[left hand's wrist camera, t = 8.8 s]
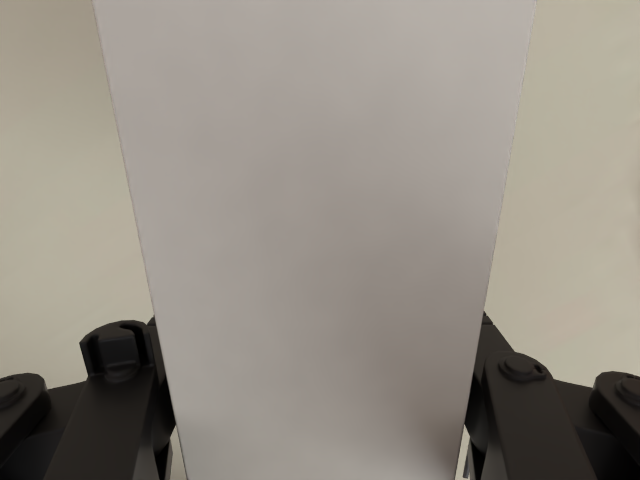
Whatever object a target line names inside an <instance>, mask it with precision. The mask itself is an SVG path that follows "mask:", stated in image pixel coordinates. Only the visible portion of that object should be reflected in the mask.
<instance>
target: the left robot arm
mask: <svg viewBox="0 0 640 480" xmlns="http://www.w3.org/2000/svg"><path fill="white" fill-rule="evenodd" d="M79 344H80V348H81V351H82V355H83V359H84V362H85V366H86V370H87V373H88V378H87V380H86V381H83V382H80V383H76V384H71V385H67V386H62V387H57V388H52V389H48V390H47V387H46V384H45V381H44V379H43V378H42V377H41V376H40V375H38V374H32V373H23V374H15V375H11V376H7V377H4V378H1V379H0V480H170V474H171V465H172V456H173V452H172V445H171V440H170V437H171V434H172V432H173V430H174V427H175V425H176V421H175V416H174V411H173V406H172V401H171V396H170V391H169V386H168V381H167V376H166V371H165V366H164V361H163V356H162V351H161V346H160V341H159V336H158V331H157V326H156V321H155V316H154V317H152V318H151V320H150V321H149V322H148V324H147V325H146V324H145V323H144V322H140V321H135V320H124V321H118V322H113V323H109V324H106V325H104V326H101V327H99V328H96V329H95V330H93V331H92V332H90V333H89V334H87V335H86V336H85V337H84V338H83V339H82V340H81V341H80V343H79ZM464 424H465V426H466V428H467V431H468V433H469V435H470V440H469V445H468V451H467V456H466V461H465V466H464V472H463V478H467V479H468V475H469V473H470V480H640V377H639V376H636V375H635V376H634V375H632V374H628V373H623V372H615V371H610V372H603V373H601V374H600V375H598V376H597V377H596V379H595V383H594V386H593V388H591V387H586V386H581V385H577V384H572V383H567V382H562V381H559V380H555V379H553V377H552V375H551V374H550V372H549V371H548V369H547V368H546V367H545V366H544V365H542V364H541V363H540V362H538V361H537V360H535V359H533V358H531V357H529V356H527V355H525V354H521V353H517V352H514V350H513V349H512V348H511V346H510V345H509V344H508V342H507V341H506V340H505V338H504V337H503V336H502V334H501V333H500V332H499V330H498V329H497V328H496V326H495V325H493V322H492V321H491V320H490V318H489V317H488V316H486V313H485V312H483V318H482V323H481V329H480V335H479V341H478V347H477V353H476V358H475V364H474V370H473V376H472V382H471V388H470V393H469V399H468V405H467V411H466V417H465V423H464Z"/></svg>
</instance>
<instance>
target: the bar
mask: <svg viewBox="0 0 640 480" xmlns="http://www.w3.org/2000/svg"><path fill="white" fill-rule="evenodd" d="M536 3H537V0H92V4H93V9H94V14H95V19H96V24H97V29H98V34H99V39H100V44H101V49H102V54H103V59H104V64H105V69H106V74H107V79H108V85H109V90H110V95H111V100H112V105H113V110H114V115H115V120H116V125H117V130H118V135H119V140H120V145H121V150H122V155H123V160H124V165H125V170H126V175H127V180H128V185H129V190H130V195H131V200H132V205H133V210H134V215H135V220H136V225H137V230H138V235H139V240H140V245H141V250H142V255H143V260H144V266H145V271H146V276H147V281H148V286H149V291H150V296H151V301H152V306H153V311H154V316H155V321H156V326H157V331H158V336H159V341H160V346H161V351H162V356H163V361H164V366H165V371H166V376H167V381H168V386H169V391H170V396H171V401H172V406H173V411H174V416H175V421H176V426H177V431H178V436H179V441H180V447H181V452H182V457H183V462H184V467H185V472H186V477H187V480H455V475H456V469H457V463H458V458H459V452H460V446H461V440H462V434H463V428H464V423H465V417H466V411H467V405H468V399H469V393H470V388H471V382H472V376H473V370H474V364H475V358H476V353H477V347H478V341H479V335H480V329H481V323H482V318H483V312H484V306H485V300H486V294H487V288H488V283H489V277H490V271H491V265H492V259H493V253H494V248H495V242H496V236H497V230H498V224H499V219H500V213H501V207H502V201H503V195H504V189H505V184H506V178H507V172H508V166H509V160H510V154H511V149H512V143H513V137H514V131H515V125H516V119H517V114H518V108H519V102H520V96H521V90H522V84H523V79H524V73H525V67H526V61H527V55H528V49H529V44H530V38H531V32H532V26H533V20H534V14H535V9H536Z"/></svg>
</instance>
